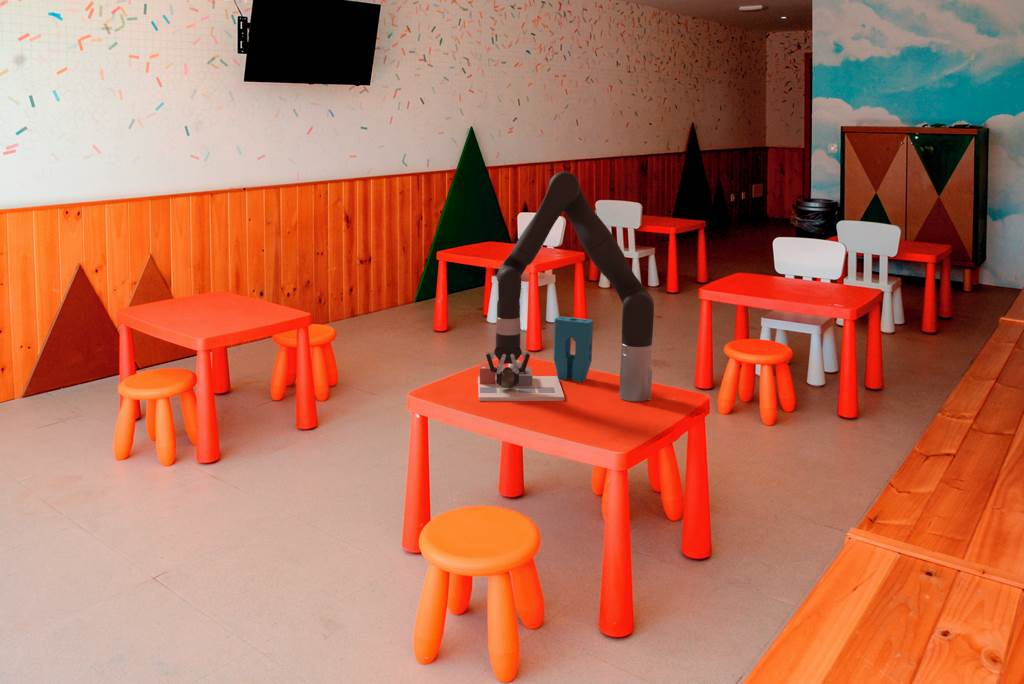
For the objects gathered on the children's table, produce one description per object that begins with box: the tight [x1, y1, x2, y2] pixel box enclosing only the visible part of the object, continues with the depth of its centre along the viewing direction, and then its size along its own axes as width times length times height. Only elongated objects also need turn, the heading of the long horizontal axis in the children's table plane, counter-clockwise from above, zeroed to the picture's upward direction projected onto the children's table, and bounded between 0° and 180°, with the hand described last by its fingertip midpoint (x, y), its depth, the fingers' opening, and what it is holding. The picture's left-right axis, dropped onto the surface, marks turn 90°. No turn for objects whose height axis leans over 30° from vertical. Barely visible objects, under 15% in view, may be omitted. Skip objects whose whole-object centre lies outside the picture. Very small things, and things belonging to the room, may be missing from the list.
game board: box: [477, 375, 565, 402], centre depth 286 cm, size 26×22×1 cm
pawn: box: [501, 366, 515, 388], centre depth 281 cm, size 4×4×6 cm
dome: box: [507, 359, 524, 374], centre depth 289 cm, size 6×6×5 cm
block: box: [553, 316, 594, 383], centre depth 296 cm, size 12×5×20 cm, turn 66°
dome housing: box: [500, 366, 533, 386], centre depth 290 cm, size 10×10×4 cm
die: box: [479, 364, 497, 384], centre depth 289 cm, size 5×5×5 cm
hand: (507, 384), depth 281 cm, fingers closed on pawn, 4 cm apart
